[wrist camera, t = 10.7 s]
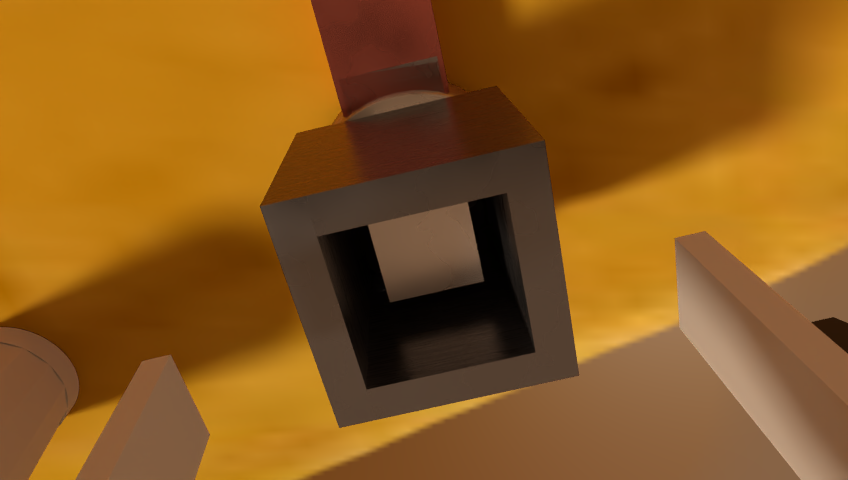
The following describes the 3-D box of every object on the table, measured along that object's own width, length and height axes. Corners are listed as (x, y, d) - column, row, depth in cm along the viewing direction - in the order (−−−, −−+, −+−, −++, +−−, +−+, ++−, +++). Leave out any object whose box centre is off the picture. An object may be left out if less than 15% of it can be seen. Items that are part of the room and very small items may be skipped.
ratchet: (180, -264, 23) (74, -380, 15) (424, -328, 22) (447, -483, 14) (348, 276, 32) (337, 379, 24) (522, 236, 31) (568, 327, 24)
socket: (296, 133, 25) (260, 206, 17) (496, 85, 24) (544, 140, 17) (350, 305, 28) (339, 427, 21) (527, 265, 28) (579, 375, 20)
